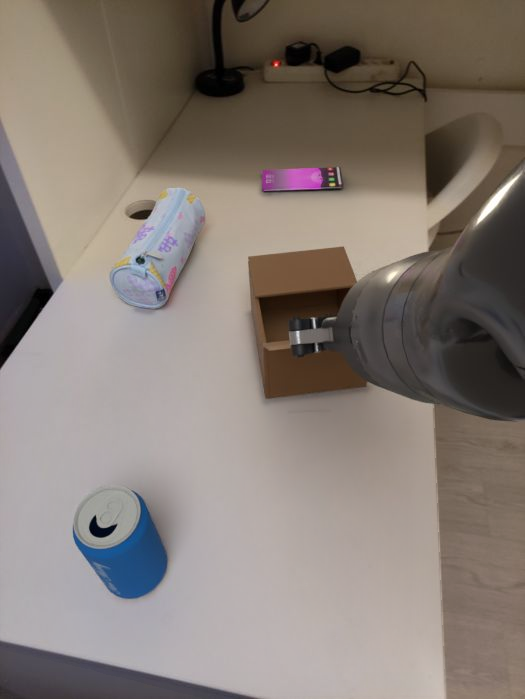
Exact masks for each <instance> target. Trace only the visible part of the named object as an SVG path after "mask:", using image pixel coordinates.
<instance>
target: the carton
mask: <svg viewBox="0 0 525 699" xmlns="http://www.w3.org/2000/svg"><path fill="white" fill-rule="evenodd" d="M247 259H248V261H247V267H248V268H247V269H248V280H249V298H250V309H251V310H250V311H251V319H252V324H253V325H252V326H253V331H254V336H255V344H256V348H257V354H258V355H257V356H258V361H259V367H260V374H261V380H262V385H263V391H264V397H265V399H266V400H267V399H276V398H285V397H293V396H300V395H307V394H308V395H309V394H317V393H325V392H332V391H333V392H334V391H341V390H350V389H357V388H358V389H359V388H367V383H368V382H367V381H366V380H364V379H363V378H361V377H360V376H359V375H358V374H357V373H356V372H355V371H354V370H353V369H352V368H351V367H350V366H349V364H348V363H347V362H346V360H345V359H344V357H343V355H342V354H341V352H340V351H329V350H324V351H321V352H318V353H311V354H306V355H304V357H297V356H292V354H291V348H290V349H282V350H273V351H269V350H268V349H266V348H265V347H264V345H263V343H269V342H278V341H286V340H290V339H289V328H288V321H289V320H293V318H296V317H300V319H307V318H316V317H325V314H332V316H334V315H338V312H339V309H340V307H341V304H342V302H343V300H344V298H345V297H346V295H347V293H348V292H349V290H350V289H351V288H352V287H353V286H354V285H355V284H356V283H357V282H358V280H357V277H356V275H355V272H354V270H353V267H352V264H351V262H350V258H349V256H348V253H347V251H346V248H345V246H336V247H334V246H333V247H326V248H316V249H315V248H314V249H306V250H295V251H288V252H278V253H268V254H260V255H250V256H248V257H247Z"/></svg>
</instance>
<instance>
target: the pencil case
mask: <svg viewBox="0 0 525 699" xmlns="http://www.w3.org/2000/svg"><path fill="white" fill-rule="evenodd" d="M205 224H206V211H205V208H204V205H203V203H202V201H201V199H199V198H198V197H197V196H196V195H194V194H193V193H192V191H190V190H188V189H185V188H182V187H170V188H166V189H164V190H163V191H162V192H161V193H160V194H159V195H158V197H157V199H156V202H155V203H154V207H153V209H152V211H151V212H150V214H149V216H148V217H147V219H146V220H145V221H144V222H143V224H142V225H141V226H140V228H139V229H138V231H137V232H136V233H135V235H134V236H133V238H132V240H131V241H130V244H128V247H127V248H126V250H125V251H124V253H123V254H122V256H121V257H120V259H119V260H118V262H116V263H115V264H114V265H113V266H112V267H111V269H110V271H109V281H110V285H111V287H112V289H113V291H114V292H115V294H116V295H117V297H119V298H120V299H121V300H122V301H123V302H124V303H126V304H128V305H130V306H133V307H138V308H144V309H152V310H153V309H154V310H155V309H159V308H161V307H163V306H164V305H165V304H166V302H167V301H168V300H169V298H170V295H171V291H172V289H173V287H174V285H175V283H176V281H177V279H178V278H179V276H180V274H181V273H182V270H183V269H184V267H185V265H186V263H187V261H188V258H189V256H190V254H191V252H192V249H193V248H194V247H193V246H194V244H195V242H196V239H197V237H198V236H199V234H200V232H201V230H202V229H203V227H204V225H205Z"/></svg>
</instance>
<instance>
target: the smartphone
mask: <svg viewBox="0 0 525 699" xmlns="http://www.w3.org/2000/svg"><path fill="white" fill-rule="evenodd" d="M341 168H342V167H340V166H333V167H331V166H329V167H309V168H307V167H306V168H286V169H285V168H284V169H262V174H261V175H262V176H261V177H262V178H261V179H262V180H261V190H262V192H265V193H266V192H289V191H315V190H341V189H343V188H344V182H343V175H342V169H341Z"/></svg>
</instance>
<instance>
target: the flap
mask: <svg viewBox="0 0 525 699" xmlns="http://www.w3.org/2000/svg"><path fill="white" fill-rule="evenodd" d="M263 345H264V347H265V348H266V349H268V350H269V351H273V350H282V349H290V348H291V345H290V340H286V341H278V342H269V343H263Z"/></svg>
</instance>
